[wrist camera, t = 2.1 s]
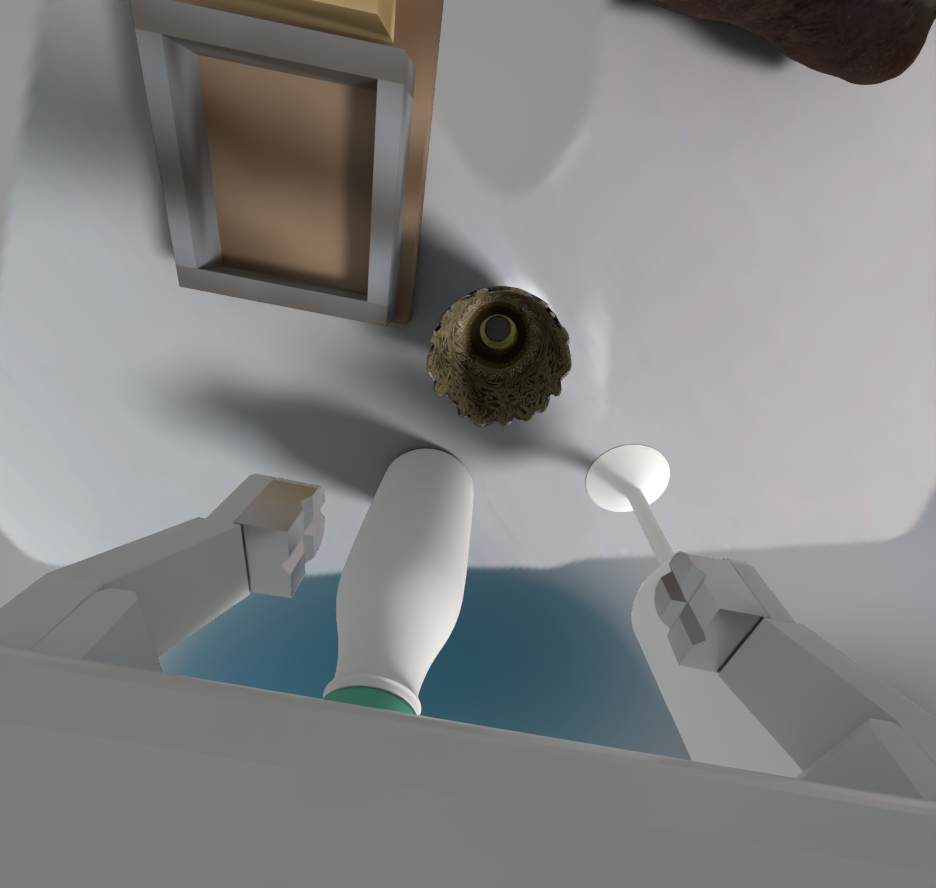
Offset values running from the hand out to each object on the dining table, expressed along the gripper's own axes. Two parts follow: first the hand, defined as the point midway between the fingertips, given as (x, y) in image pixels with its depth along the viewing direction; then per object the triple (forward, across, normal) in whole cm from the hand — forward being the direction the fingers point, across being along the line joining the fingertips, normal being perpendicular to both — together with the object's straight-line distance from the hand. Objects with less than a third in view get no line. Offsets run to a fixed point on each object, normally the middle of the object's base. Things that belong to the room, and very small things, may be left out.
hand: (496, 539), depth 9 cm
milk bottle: (+21, +3, +14) cm, 26 cm away
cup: (+21, 0, 0) cm, 21 cm away
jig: (+21, +13, -8) cm, 26 cm away
